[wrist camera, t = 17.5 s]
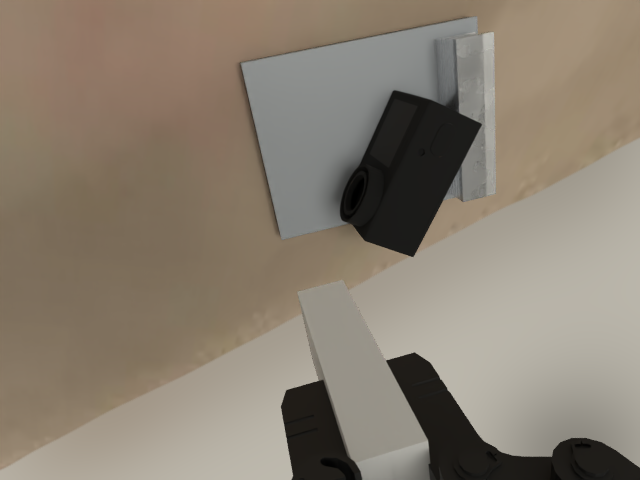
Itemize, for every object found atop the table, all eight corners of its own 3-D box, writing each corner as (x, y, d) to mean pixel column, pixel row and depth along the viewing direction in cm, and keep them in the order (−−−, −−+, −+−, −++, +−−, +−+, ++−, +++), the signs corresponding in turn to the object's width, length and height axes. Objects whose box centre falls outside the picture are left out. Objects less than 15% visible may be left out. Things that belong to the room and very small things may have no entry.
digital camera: (380, 81, 35) (416, 90, 29) (438, 108, 37) (484, 122, 31) (326, 203, 38) (348, 236, 32) (382, 224, 40) (414, 258, 34)
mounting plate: (279, 233, 40) (281, 240, 39) (239, 62, 34) (240, 63, 33) (473, 186, 42) (481, 190, 41) (467, 17, 36) (477, 16, 35)
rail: (443, 189, 40) (463, 201, 37) (434, 39, 35) (456, 39, 32) (475, 181, 40) (498, 193, 37) (471, 31, 35) (496, 31, 32)
